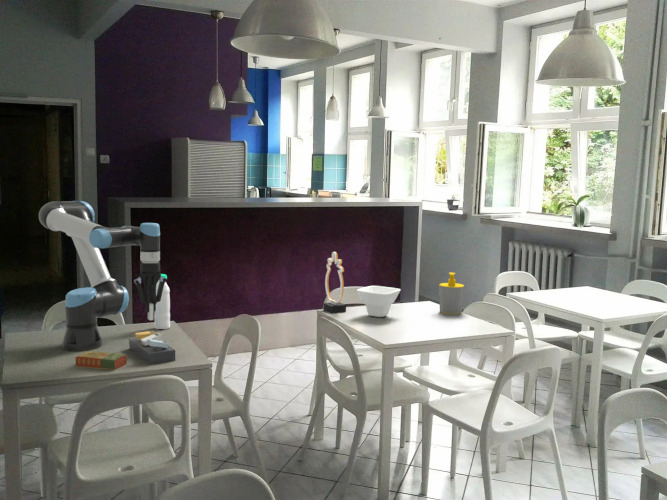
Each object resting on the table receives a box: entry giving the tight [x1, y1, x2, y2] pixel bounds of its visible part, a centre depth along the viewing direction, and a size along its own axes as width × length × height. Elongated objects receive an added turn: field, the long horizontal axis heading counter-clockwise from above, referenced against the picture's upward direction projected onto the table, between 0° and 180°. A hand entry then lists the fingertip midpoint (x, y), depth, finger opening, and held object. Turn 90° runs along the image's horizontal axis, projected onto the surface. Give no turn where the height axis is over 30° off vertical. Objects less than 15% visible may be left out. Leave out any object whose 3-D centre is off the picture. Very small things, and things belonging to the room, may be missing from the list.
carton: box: [75, 350, 128, 371], centre depth 227 cm, size 8×16×4 cm, turn 78°
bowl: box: [356, 285, 401, 318], centre depth 315 cm, size 19×19×14 cm
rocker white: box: [141, 332, 163, 346], centre depth 241 cm, size 7×4×2 cm, turn 125°
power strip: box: [128, 337, 176, 365], centre depth 245 cm, size 10×33×5 cm, turn 35°
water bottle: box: [153, 273, 171, 330], centre depth 283 cm, size 7×7×25 cm
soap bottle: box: [438, 272, 465, 315], centre depth 328 cm, size 13×13×21 cm
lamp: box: [322, 251, 347, 314], centre depth 325 cm, size 17×9×32 cm, turn 31°
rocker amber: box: [134, 330, 156, 340], centre depth 248 cm, size 7×4×2 cm, turn 125°
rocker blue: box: [147, 339, 170, 348], centre depth 235 cm, size 7×4×2 cm, turn 125°
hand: (150, 319), depth 249 cm, fingers closed
